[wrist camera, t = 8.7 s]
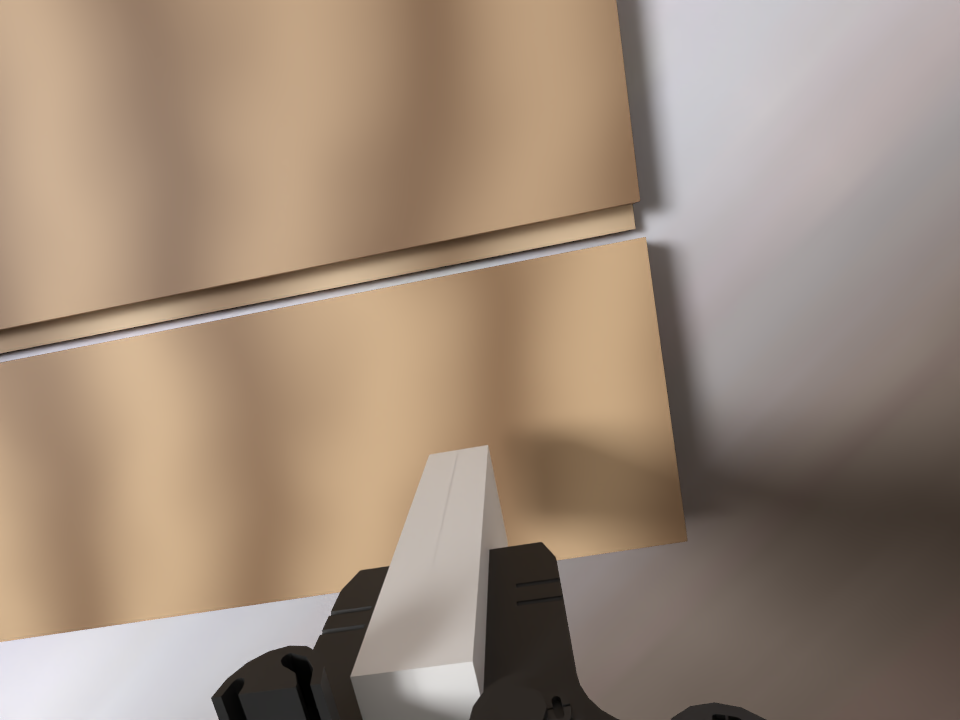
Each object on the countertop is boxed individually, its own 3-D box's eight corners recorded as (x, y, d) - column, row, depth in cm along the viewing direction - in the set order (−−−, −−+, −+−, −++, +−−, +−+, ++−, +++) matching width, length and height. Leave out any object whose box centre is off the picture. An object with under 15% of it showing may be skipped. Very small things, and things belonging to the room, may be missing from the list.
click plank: (-52, 630, 18) (-91, 655, 17) (-143, 391, 17) (-192, 399, 15) (673, 522, 16) (687, 541, 15) (634, 240, 15) (645, 237, 13)
